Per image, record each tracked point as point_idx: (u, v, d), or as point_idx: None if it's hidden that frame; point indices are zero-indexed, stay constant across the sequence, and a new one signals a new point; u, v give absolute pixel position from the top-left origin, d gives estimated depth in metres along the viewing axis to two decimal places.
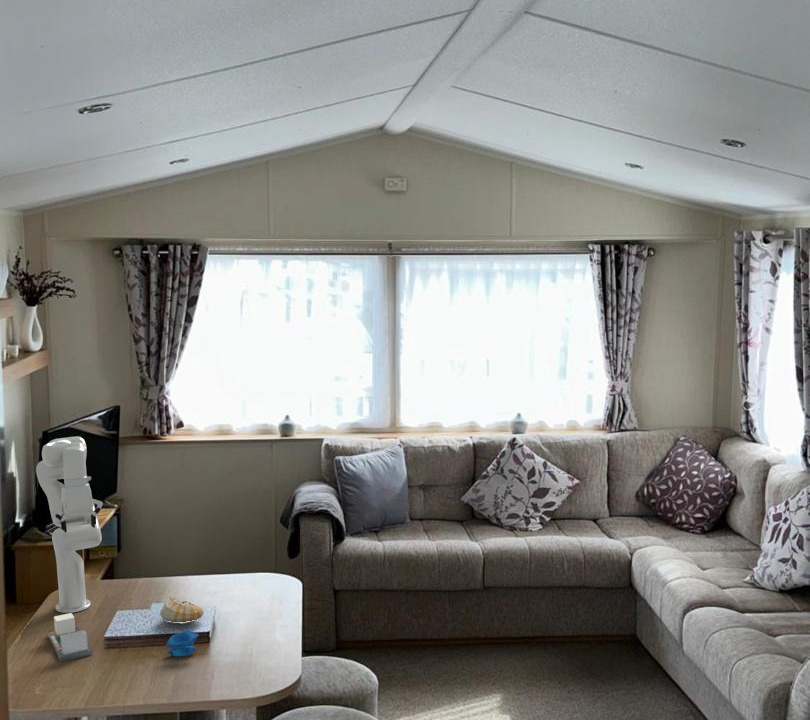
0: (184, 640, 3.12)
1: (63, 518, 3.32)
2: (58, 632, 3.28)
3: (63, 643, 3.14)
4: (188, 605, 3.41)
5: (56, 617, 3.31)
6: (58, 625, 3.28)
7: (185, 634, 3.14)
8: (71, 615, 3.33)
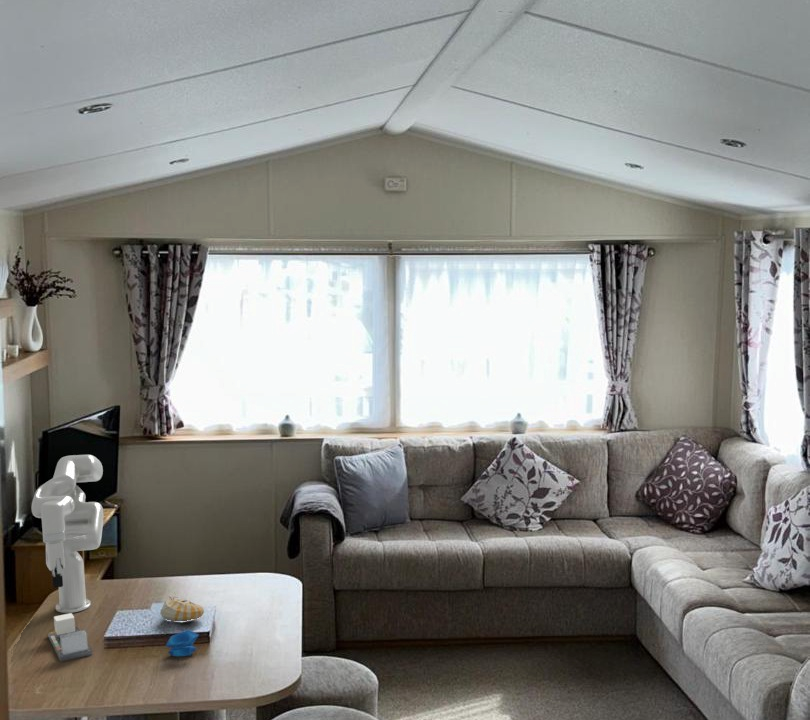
0: (184, 640, 3.12)
1: (61, 572, 3.36)
2: (58, 632, 3.28)
3: (63, 643, 3.14)
4: (189, 604, 3.42)
5: (56, 617, 3.31)
6: (58, 625, 3.28)
7: (185, 634, 3.14)
8: (71, 615, 3.33)
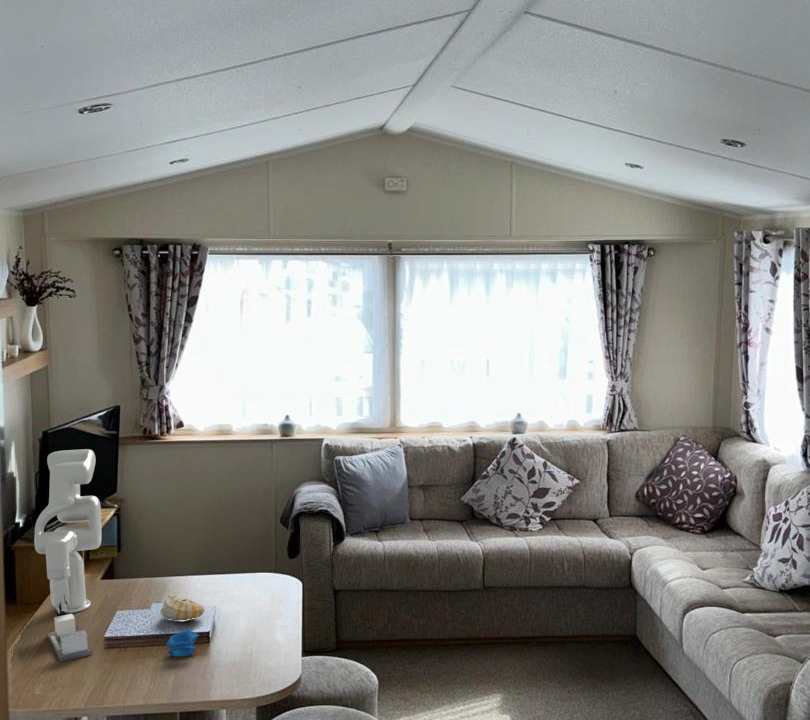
0: (184, 640, 3.12)
1: (65, 609, 3.35)
2: (58, 633, 3.28)
3: (63, 643, 3.14)
4: (189, 603, 3.43)
5: (56, 618, 3.31)
6: (58, 625, 3.27)
7: (185, 634, 3.14)
8: (71, 616, 3.32)
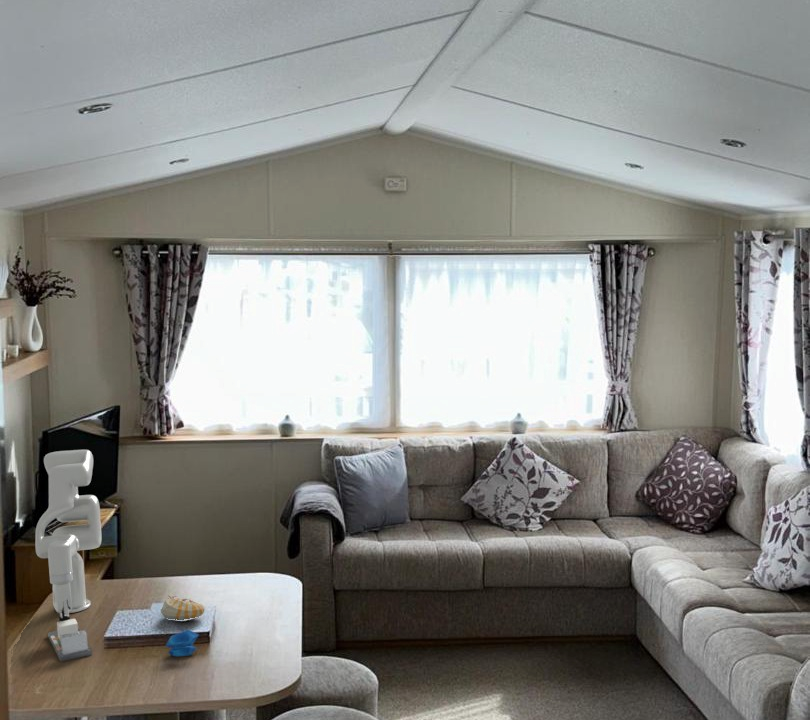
0: (184, 640, 3.12)
1: (68, 613, 3.30)
2: None
3: (63, 643, 3.14)
4: (189, 602, 3.44)
5: (59, 623, 3.26)
6: (61, 631, 3.23)
7: (185, 634, 3.14)
8: (74, 621, 3.27)
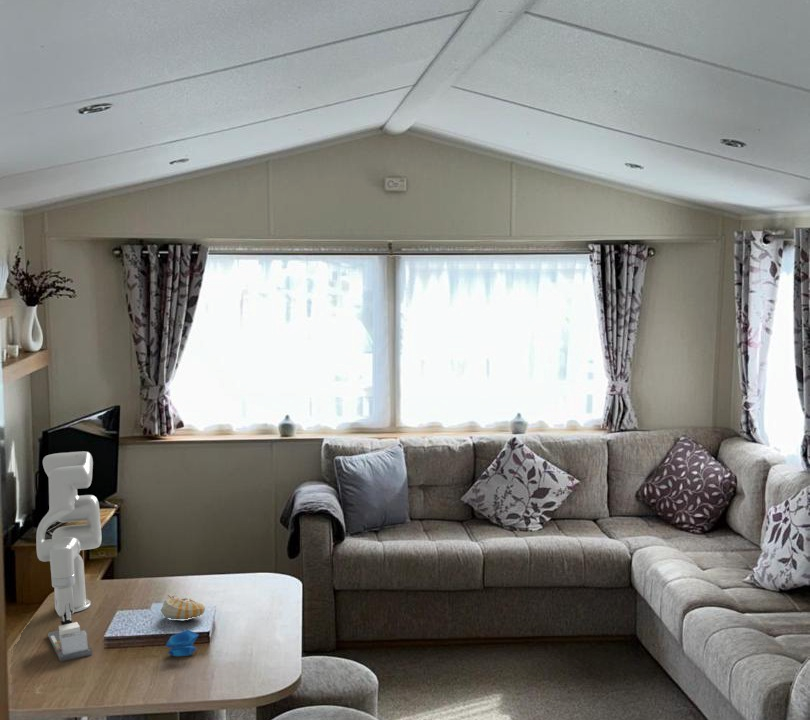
0: (184, 640, 3.12)
1: (70, 617, 3.27)
2: None
3: (63, 643, 3.14)
4: (190, 602, 3.44)
5: (61, 626, 3.23)
6: (63, 634, 3.20)
7: (185, 634, 3.14)
8: (76, 624, 3.24)
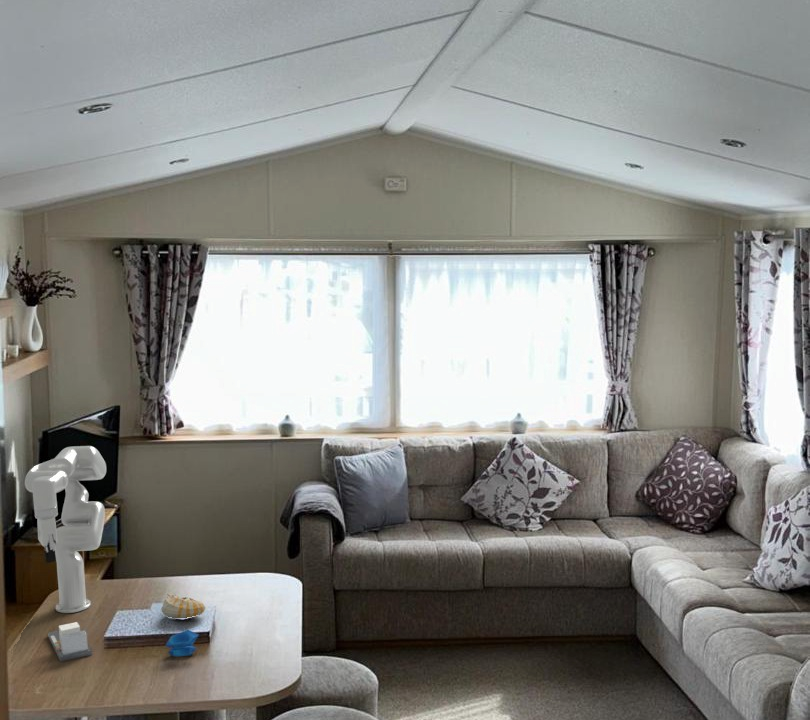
0: (184, 640, 3.12)
1: (53, 547, 3.35)
2: None
3: (63, 643, 3.14)
4: (190, 601, 3.45)
5: (61, 626, 3.23)
6: (63, 634, 3.20)
7: (185, 634, 3.14)
8: (76, 624, 3.24)
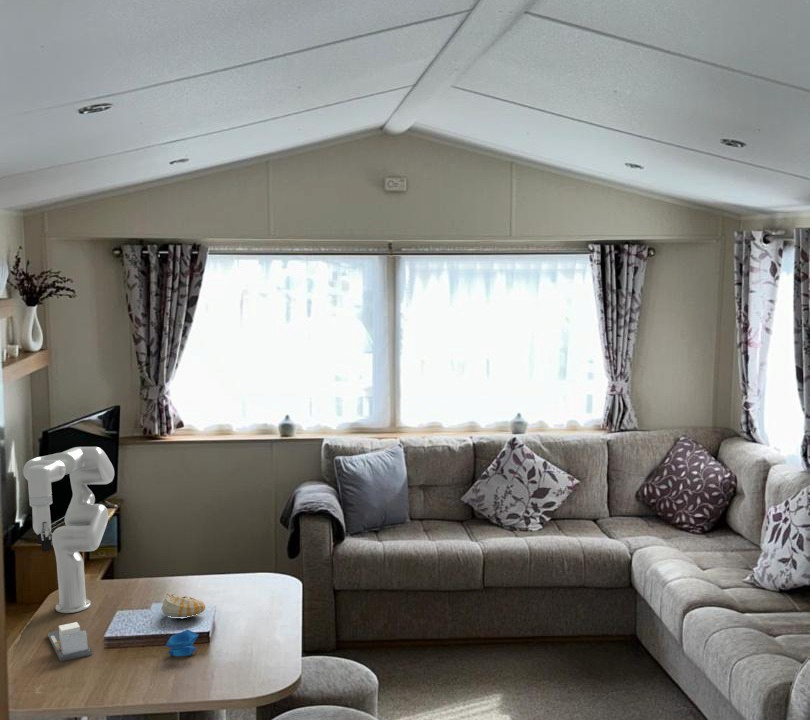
0: (184, 640, 3.12)
1: (49, 536, 3.33)
2: None
3: (63, 643, 3.14)
4: (190, 600, 3.46)
5: (61, 626, 3.23)
6: (63, 634, 3.20)
7: (185, 634, 3.14)
8: (76, 624, 3.24)
